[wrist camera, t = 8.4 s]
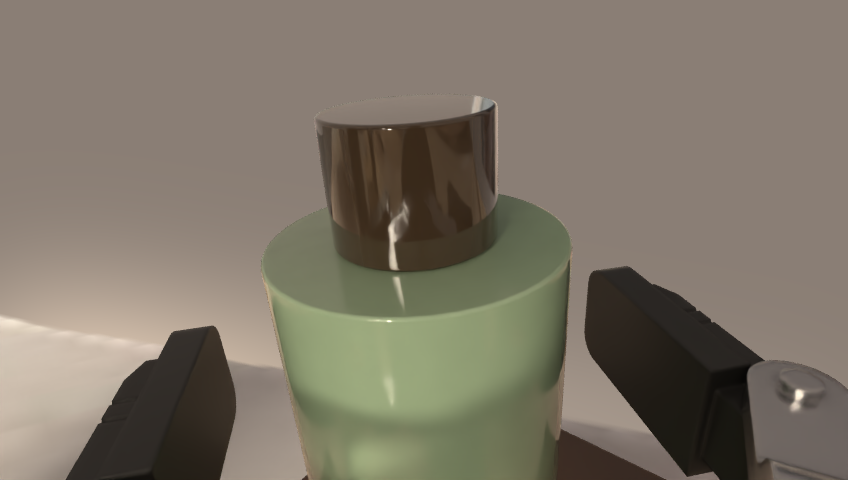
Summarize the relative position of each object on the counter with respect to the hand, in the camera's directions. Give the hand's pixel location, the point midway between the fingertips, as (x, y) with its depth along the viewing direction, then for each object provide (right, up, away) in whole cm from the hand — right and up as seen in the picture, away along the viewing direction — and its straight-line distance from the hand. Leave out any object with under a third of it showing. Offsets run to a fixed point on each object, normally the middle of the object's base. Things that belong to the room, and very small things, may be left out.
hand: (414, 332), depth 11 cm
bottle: (+1, -7, +1) cm, 7 cm away
